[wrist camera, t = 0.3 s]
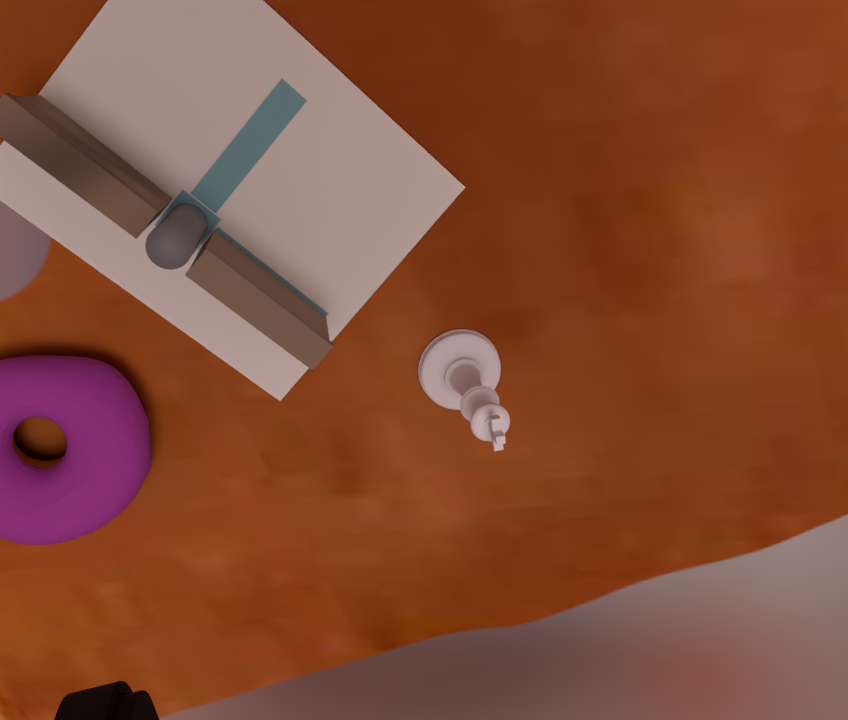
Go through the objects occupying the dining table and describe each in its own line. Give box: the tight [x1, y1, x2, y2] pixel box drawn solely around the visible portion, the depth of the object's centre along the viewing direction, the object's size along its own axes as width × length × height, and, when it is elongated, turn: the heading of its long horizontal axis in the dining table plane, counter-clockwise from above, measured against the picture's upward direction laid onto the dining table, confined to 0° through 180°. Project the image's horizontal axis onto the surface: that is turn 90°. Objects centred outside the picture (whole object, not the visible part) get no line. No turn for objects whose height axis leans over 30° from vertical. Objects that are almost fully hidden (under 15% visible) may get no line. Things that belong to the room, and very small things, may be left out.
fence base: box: [0, 0, 465, 401], centre depth 37 cm, size 19×16×7 cm
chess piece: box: [418, 329, 510, 451], centre depth 42 cm, size 5×5×10 cm
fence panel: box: [0, 93, 173, 239], centre depth 36 cm, size 8×2×5 cm, turn 48°
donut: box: [0, 355, 152, 545], centre depth 42 cm, size 11×10×5 cm
